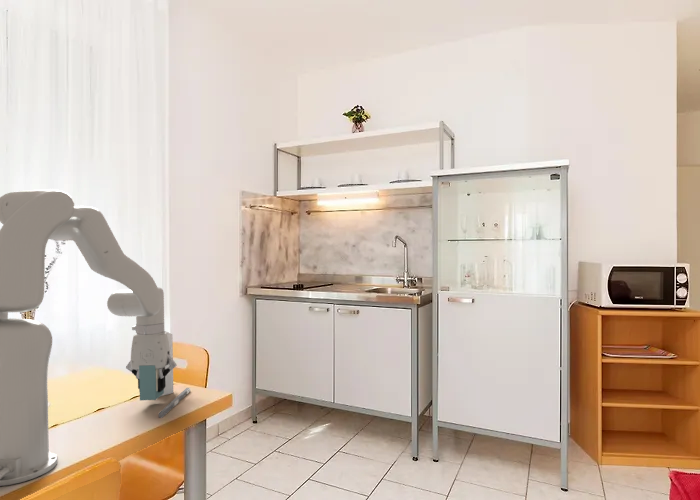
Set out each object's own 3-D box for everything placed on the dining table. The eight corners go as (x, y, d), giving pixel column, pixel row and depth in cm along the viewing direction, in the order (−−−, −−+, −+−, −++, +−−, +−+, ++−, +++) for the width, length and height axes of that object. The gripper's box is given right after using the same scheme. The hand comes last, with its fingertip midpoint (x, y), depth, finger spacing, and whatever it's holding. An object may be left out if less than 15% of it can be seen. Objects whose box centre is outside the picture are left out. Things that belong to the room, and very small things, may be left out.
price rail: (163, 417, 120) (163, 413, 120) (158, 417, 120) (158, 413, 120) (190, 391, 142) (190, 387, 142) (186, 391, 142) (186, 387, 142)
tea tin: (155, 400, 127) (155, 365, 127) (139, 400, 127) (138, 365, 127) (164, 393, 133) (163, 360, 133) (148, 393, 133) (147, 360, 133)
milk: (155, 398, 137) (153, 327, 137) (146, 393, 141) (145, 325, 141) (174, 392, 141) (172, 324, 141) (165, 389, 146) (163, 322, 145)
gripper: (115, 332, 126) (116, 396, 126) (174, 331, 127) (176, 394, 127) (127, 327, 134) (129, 387, 134) (184, 326, 134) (185, 386, 134)
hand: (151, 390), depth 130 cm, fingers closed on tea tin, 4 cm apart
